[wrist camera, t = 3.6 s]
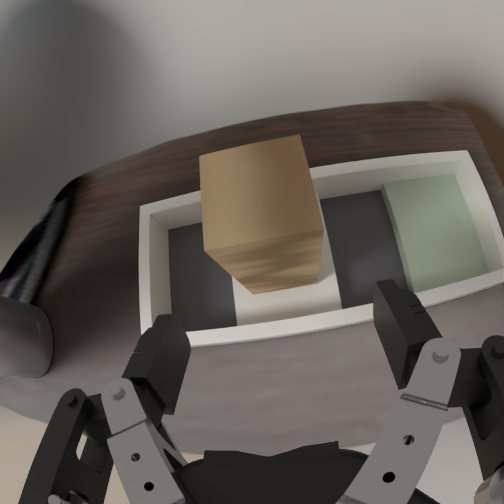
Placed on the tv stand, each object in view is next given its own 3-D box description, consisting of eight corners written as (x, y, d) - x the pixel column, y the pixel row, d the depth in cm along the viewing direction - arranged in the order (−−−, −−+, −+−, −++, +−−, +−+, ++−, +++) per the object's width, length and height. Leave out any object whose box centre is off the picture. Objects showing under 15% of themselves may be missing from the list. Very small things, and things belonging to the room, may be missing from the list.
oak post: (253, 294, 23) (204, 250, 12) (245, 234, 24) (199, 156, 14) (317, 283, 22) (324, 228, 12) (305, 223, 23) (299, 134, 13)
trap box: (166, 349, 24) (142, 348, 20) (160, 223, 28) (140, 206, 24) (490, 287, 20) (514, 277, 16) (452, 172, 24) (467, 150, 20)
